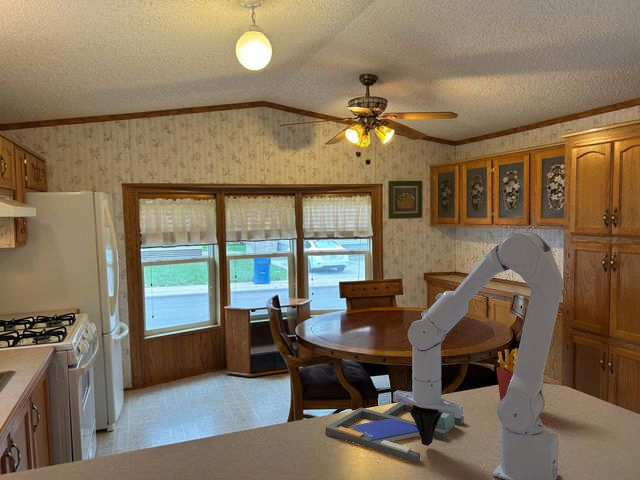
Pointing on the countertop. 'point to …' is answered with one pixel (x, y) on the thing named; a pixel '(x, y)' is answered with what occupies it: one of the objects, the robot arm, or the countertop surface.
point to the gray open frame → (384, 446)
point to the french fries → (506, 371)
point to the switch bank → (407, 407)
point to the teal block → (445, 422)
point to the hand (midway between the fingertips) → (426, 443)
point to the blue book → (386, 430)
